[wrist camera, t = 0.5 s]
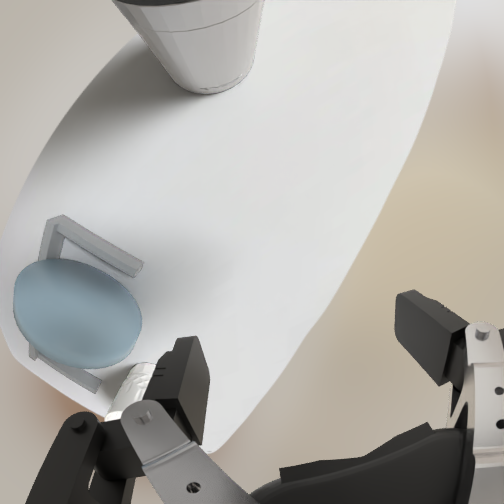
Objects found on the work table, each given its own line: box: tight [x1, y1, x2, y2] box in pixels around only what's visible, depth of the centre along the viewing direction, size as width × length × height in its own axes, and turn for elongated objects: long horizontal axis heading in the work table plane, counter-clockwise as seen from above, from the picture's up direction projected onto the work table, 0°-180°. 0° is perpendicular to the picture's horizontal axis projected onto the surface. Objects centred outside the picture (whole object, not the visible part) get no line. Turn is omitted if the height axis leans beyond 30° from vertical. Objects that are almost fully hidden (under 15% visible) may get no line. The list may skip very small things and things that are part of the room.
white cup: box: [105, 363, 156, 422], centre depth 29 cm, size 8×8×10 cm
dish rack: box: [13, 215, 144, 394], centre depth 24 cm, size 15×23×14 cm, turn 150°
